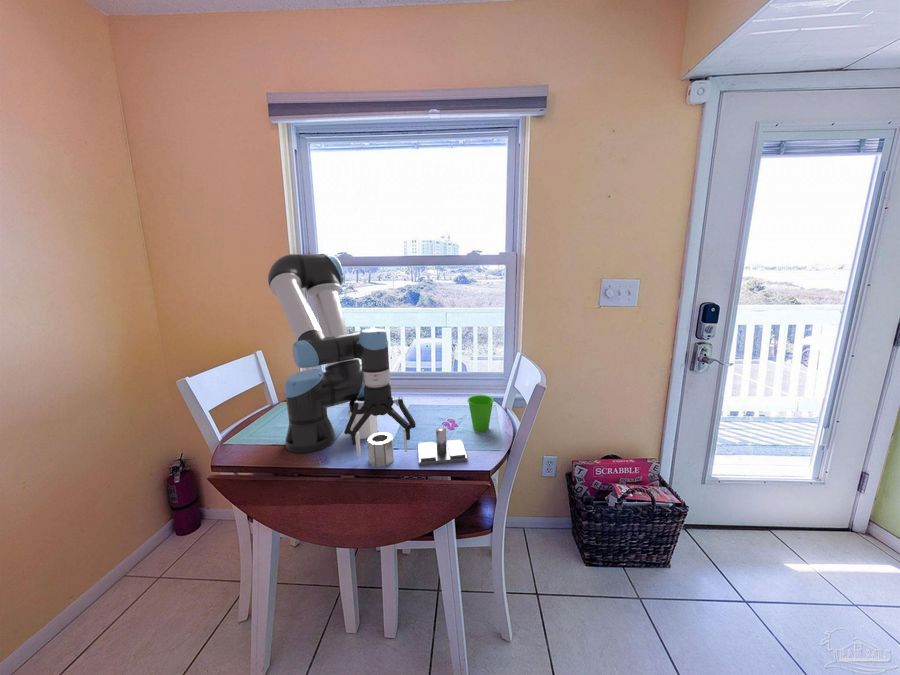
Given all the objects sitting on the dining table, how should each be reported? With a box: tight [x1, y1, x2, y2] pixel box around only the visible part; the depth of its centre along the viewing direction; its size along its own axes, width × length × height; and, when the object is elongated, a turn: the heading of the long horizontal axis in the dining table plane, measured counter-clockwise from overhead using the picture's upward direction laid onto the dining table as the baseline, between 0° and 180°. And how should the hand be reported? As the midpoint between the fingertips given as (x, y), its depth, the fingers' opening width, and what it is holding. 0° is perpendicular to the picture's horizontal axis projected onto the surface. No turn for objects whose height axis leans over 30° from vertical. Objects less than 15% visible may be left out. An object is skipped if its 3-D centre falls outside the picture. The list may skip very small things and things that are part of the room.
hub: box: [366, 432, 395, 468], centre depth 102 cm, size 7×7×7 cm
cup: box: [467, 394, 495, 434], centre depth 119 cm, size 9×9×11 cm
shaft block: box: [417, 426, 468, 467], centre depth 104 cm, size 14×10×8 cm
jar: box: [348, 397, 379, 440], centre depth 118 cm, size 9×8×12 cm
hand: (382, 452), depth 102 cm, fingers open, 13 cm apart
